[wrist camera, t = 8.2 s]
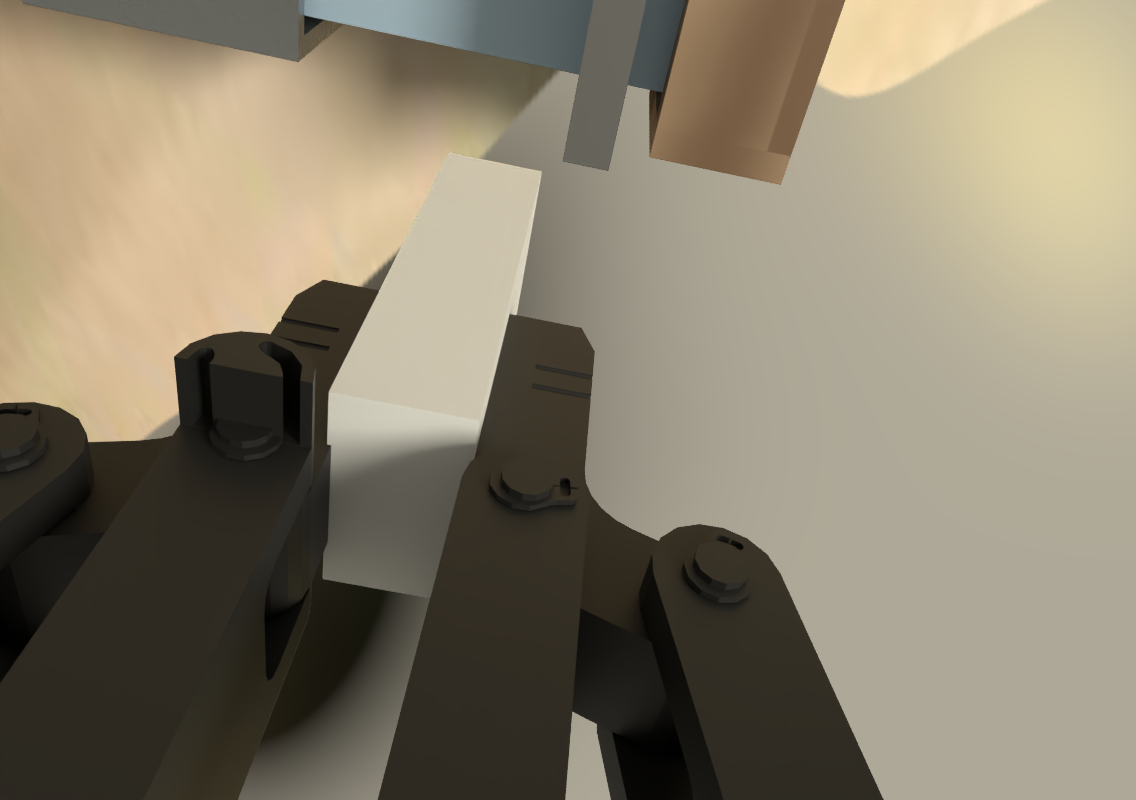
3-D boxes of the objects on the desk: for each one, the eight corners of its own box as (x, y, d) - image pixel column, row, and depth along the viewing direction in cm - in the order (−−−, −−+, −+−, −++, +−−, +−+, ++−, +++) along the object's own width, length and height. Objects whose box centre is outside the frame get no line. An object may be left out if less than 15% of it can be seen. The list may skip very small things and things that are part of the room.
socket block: (649, 93, 35) (649, 156, 29) (698, -112, 31) (710, -84, 25) (759, 117, 35) (780, 184, 30) (823, -84, 31) (862, -49, 25)
